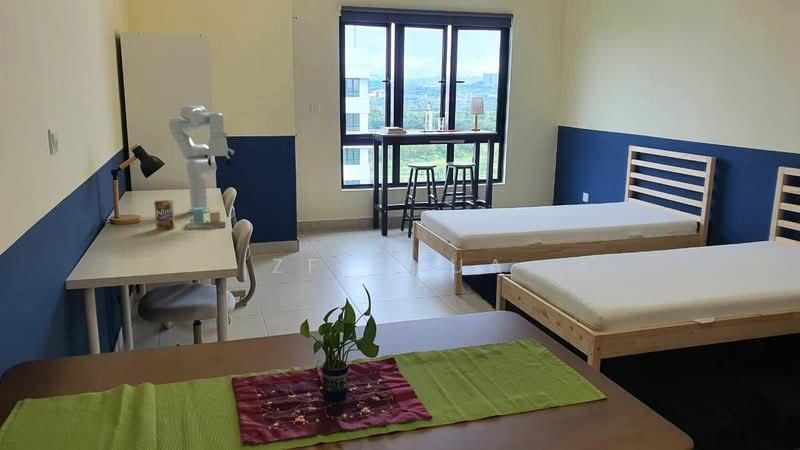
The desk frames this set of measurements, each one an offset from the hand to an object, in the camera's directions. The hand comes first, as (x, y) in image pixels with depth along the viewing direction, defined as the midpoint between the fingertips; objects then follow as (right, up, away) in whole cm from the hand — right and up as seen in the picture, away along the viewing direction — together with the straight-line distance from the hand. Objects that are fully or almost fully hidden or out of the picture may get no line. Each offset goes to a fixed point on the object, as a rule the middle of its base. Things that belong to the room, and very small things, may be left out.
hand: (219, 166), depth 349 cm
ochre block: (+1, -34, -11) cm, 36 cm away
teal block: (-12, -31, +1) cm, 33 cm away
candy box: (-23, -35, -18) cm, 46 cm away
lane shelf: (-3, -34, -12) cm, 36 cm away
